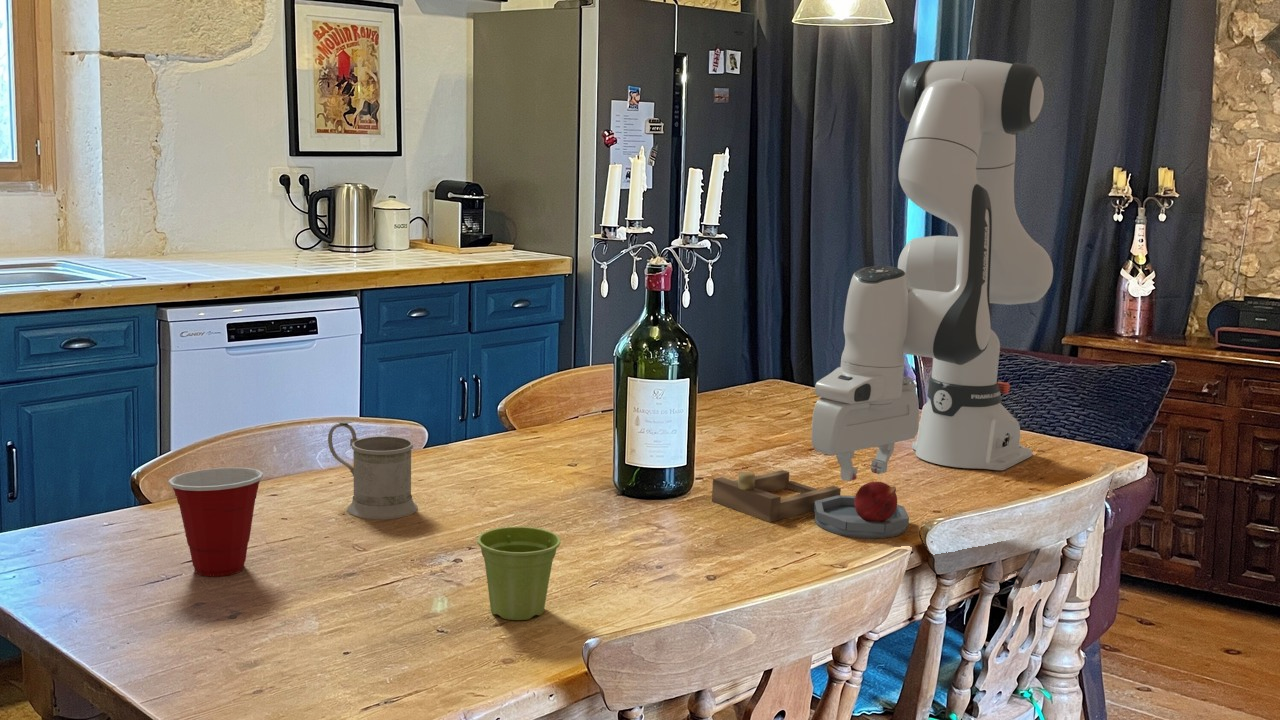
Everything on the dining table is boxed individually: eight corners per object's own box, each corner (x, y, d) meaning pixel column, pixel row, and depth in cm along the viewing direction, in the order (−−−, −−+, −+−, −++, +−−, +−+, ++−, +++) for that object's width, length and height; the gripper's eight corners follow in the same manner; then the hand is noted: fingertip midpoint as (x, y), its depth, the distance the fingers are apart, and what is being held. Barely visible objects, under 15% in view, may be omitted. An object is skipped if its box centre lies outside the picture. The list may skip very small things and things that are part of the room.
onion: (875, 537, 174) (910, 514, 168) (842, 522, 172) (875, 499, 166) (877, 503, 177) (911, 479, 171) (844, 488, 176) (877, 464, 170)
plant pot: (478, 595, 144) (479, 525, 142) (557, 596, 145) (559, 526, 143) (474, 627, 135) (475, 552, 133) (559, 627, 135) (561, 553, 134)
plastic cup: (241, 547, 156) (239, 457, 154) (280, 571, 149) (279, 476, 146) (157, 564, 149) (153, 470, 147) (193, 591, 141) (190, 491, 139)
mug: (430, 505, 177) (431, 425, 175) (389, 524, 168) (390, 439, 166) (350, 490, 183) (350, 412, 180) (306, 506, 174) (305, 425, 172)
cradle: (784, 484, 195) (786, 451, 194) (842, 503, 186) (844, 468, 185) (710, 501, 184) (712, 466, 183) (768, 522, 175) (771, 485, 174)
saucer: (853, 505, 185) (854, 491, 185) (924, 527, 176) (925, 513, 175) (796, 520, 177) (797, 505, 176) (866, 544, 167) (868, 529, 167)
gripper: (898, 371, 181) (890, 461, 184) (806, 384, 168) (800, 481, 171) (933, 378, 177) (925, 470, 179) (842, 393, 163) (835, 492, 166)
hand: (863, 476), depth 175 cm, fingers open, 5 cm apart
